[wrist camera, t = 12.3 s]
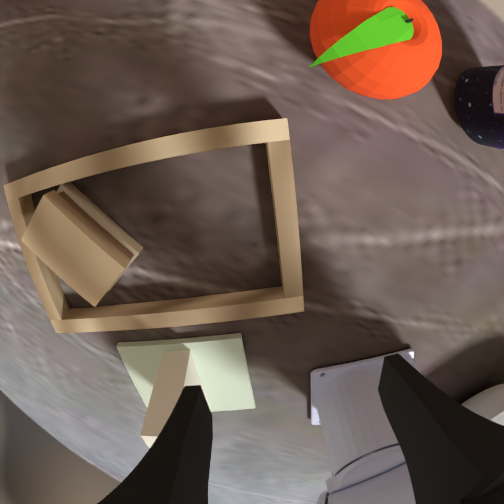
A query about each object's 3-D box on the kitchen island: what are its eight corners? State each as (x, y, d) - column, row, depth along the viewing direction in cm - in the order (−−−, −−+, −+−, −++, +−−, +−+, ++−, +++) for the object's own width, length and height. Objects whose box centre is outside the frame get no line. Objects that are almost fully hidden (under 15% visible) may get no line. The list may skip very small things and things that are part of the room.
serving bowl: (365, 451, 32) (378, 495, 25) (496, 339, 25) (529, 377, 19) (433, 464, 37) (445, 494, 31) (527, 383, 31) (547, 410, 24)
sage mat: (240, 332, 23) (241, 337, 22) (255, 403, 26) (255, 408, 25) (118, 342, 23) (116, 346, 22) (151, 408, 26) (149, 412, 26)
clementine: (324, 129, 17) (370, 135, 11) (260, 35, 15) (271, -12, 8) (420, 77, 16) (491, 69, 9) (365, -11, 13) (415, -55, 7)
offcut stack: (69, 179, 18) (41, 192, 15) (144, 246, 20) (127, 270, 17) (45, 222, 19) (18, 240, 16) (114, 283, 21) (96, 311, 18)
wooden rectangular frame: (283, 118, 17) (287, 118, 16) (300, 298, 22) (304, 311, 20) (16, 180, 17) (3, 185, 16) (64, 321, 22) (56, 332, 21)
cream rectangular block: (190, 349, 23) (175, 436, 15) (210, 406, 25) (204, 483, 18) (163, 351, 23) (140, 435, 15) (186, 407, 25) (176, 483, 18)
